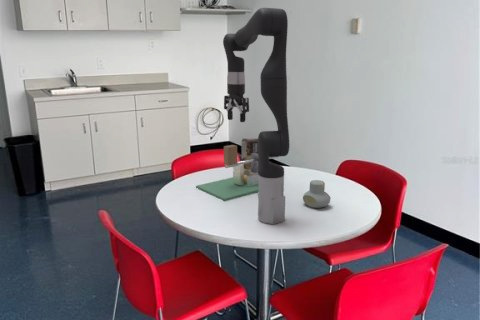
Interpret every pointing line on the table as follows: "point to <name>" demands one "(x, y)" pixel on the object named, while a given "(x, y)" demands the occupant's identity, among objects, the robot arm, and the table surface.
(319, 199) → the air freshener
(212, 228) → the table surface
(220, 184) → the pitch
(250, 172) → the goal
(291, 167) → the table surface
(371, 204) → the table surface
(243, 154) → the coffee box
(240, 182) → the rod
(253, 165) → the rod support
